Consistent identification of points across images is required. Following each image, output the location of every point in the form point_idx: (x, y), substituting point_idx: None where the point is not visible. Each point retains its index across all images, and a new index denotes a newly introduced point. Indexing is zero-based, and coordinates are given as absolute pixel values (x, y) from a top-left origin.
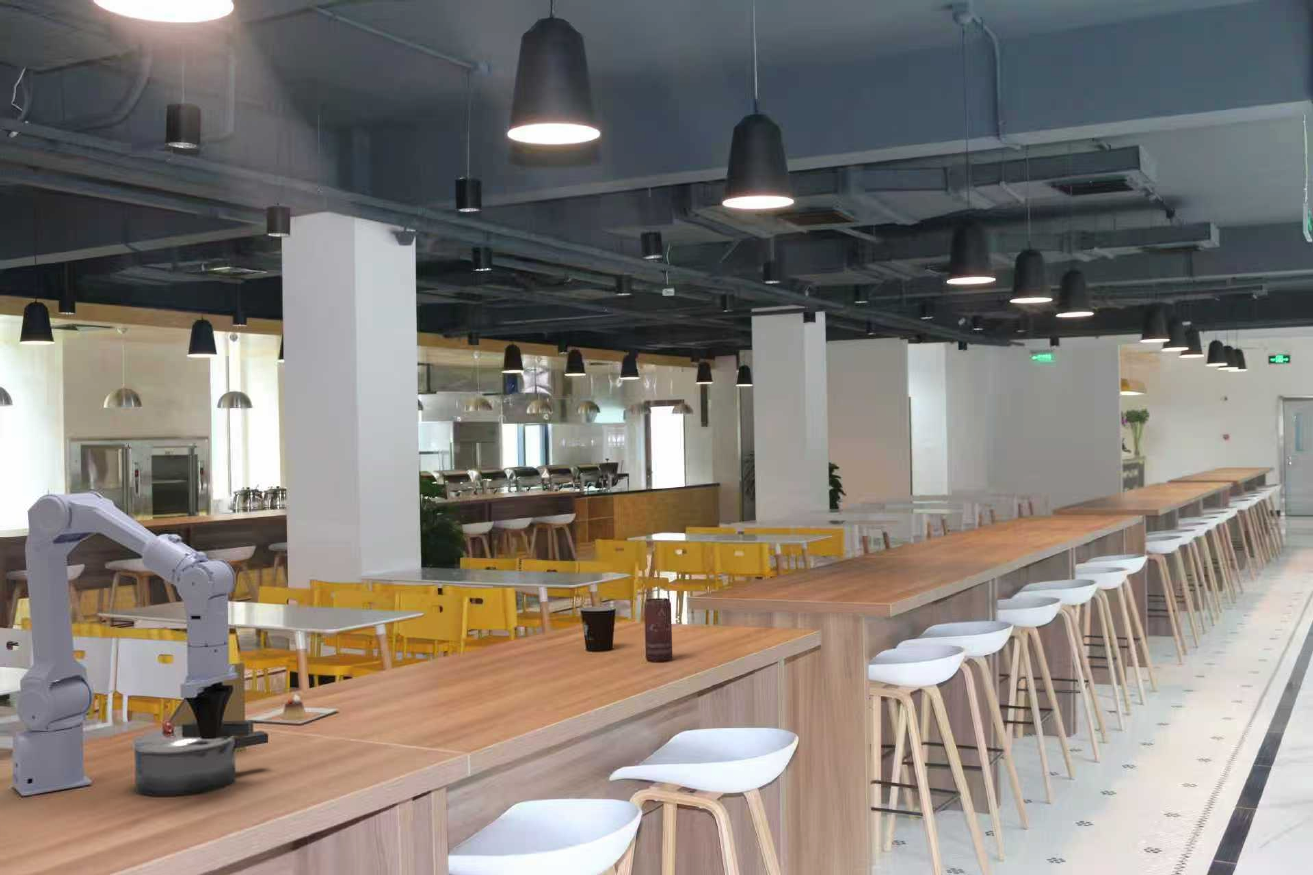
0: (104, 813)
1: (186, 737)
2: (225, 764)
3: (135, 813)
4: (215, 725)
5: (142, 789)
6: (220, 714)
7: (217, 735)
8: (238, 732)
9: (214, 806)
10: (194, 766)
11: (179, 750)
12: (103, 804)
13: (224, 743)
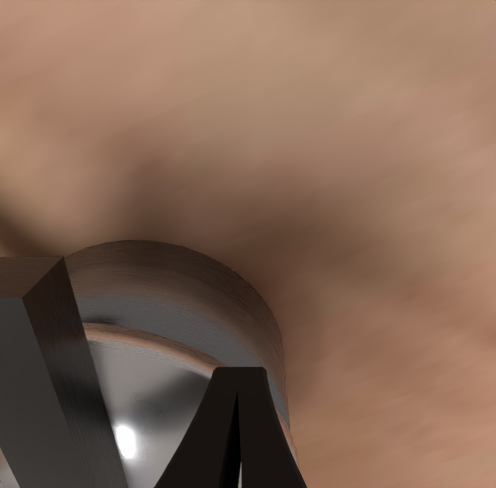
0: (414, 419)
1: (143, 481)
2: (154, 280)
3: (432, 361)
4: (281, 427)
5: None
6: (217, 483)
7: (240, 373)
8: (68, 316)
9: (411, 184)
10: (260, 352)
11: (290, 441)
12: (335, 445)
13: (141, 333)
